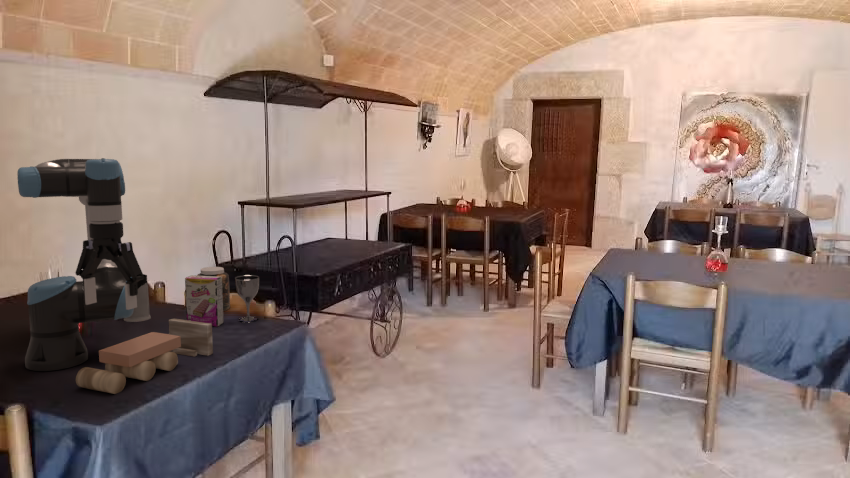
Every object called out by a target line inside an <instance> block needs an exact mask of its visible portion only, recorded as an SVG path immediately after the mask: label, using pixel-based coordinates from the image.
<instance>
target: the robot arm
mask: <svg viewBox="0 0 850 478" xmlns="http://www.w3.org/2000/svg"><path fill="white" fill-rule="evenodd" d="M123 172H124V171H123V169H122V166H121V164H120V162H119V161H118V160H117V159H113V158H112V159H111V158H103V157H102V158H60V159H58V158H57V159H53V160H48V161H44V162H41V163H38V164H37V165H36V166H26V167H25V166H22V167H19V168H18V170H17V174H16V175H17V188H18V193H19V195H20V197H23V198H35V199H38V198H53V197H55V198H57V197H67V198H68V197H69V198H73V197H75V198H77V197H78V201H79V202H80V203H81V204H82V205H83V206H84V207H85V208H84V210H85V221H86V222H85V223H86V234H87V239H86V240H83V241H82V250H81V254H80V257H79V260H78V264H77V266H76V270H75V275H76V276H79V277H80V278H81V279H82V280H79V281H78V280H77V279H76V277H75V276H73V275H67V276H63V275H62V276H56V277H51V278H48V279H43V280H40V281H37V282H35V283H33V284H32V285H30V286H29V287H28V289H27V302H26V304H27V305H28V317H29V318H28V320H29V333H30V334H29V335H30V340H29V344H28V347H27V350H26V353H25V357H24V364H25V365H24V366H25V368H26V369H27V370H30V371H35V372H51V371H58V370H60V371H61V370H64V369H69V368H73V367H76V366H80V365H81V364H83V363H85V362H86V361H87V360H88V359H89V351H88V348H87V346H86V343H85V341H84V339H83V338H82V335H81V332H80V324H83V323H93V322H103V321H112V320H113V321H117V320H119V319H121V320H122V319H124V318H127V317H130V316H131V315H132V314H133V311H134V308H136V307H137V296H136V295H137V294H138V286H137V283H138V281H140V280H143V279H144V275H143V274H144V273H143V271H142V269H141V266H140V264H139V262H138V260H137V257H136V255H135V252H134V250H133V248H134V247H133V243H132V242H131V241H129V242H122V238H123V237H124V224H123V222H122V220H123V208H122V207H123V206H122V204H123V203H122V196H125V195H126V183H125V179H124V173H123ZM137 275H138V276H137Z"/></svg>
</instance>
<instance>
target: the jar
mask: <svg viewBox="0 0 850 478" xmlns="http://www.w3.org/2000/svg"><path fill="white" fill-rule="evenodd" d="M196 275H197V276H218V277H222V291H223V312H224V311H227V310H229V309H231V302H230V301H231V299H230V297H231V296H230V295H231V294H230V291H231V290H230V277H229V276H230V275H229V274H228V273H227V272H225V269H224V267H222V266H206V267H201V268H200V273H197V274H196Z"/></svg>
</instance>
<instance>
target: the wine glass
mask: <svg viewBox="0 0 850 478" xmlns="http://www.w3.org/2000/svg"><path fill="white" fill-rule="evenodd" d="M234 279H235V290H236V293H237V295H238V296H239V297H240V299H242V300H243V301H244V303H245V306H246V307H245V308H246V316H244V318H243V317H241V318H242V319H241V320H244V321H251V320H253V319H254V317H255V316H251V315H250V308H251V307H250V306H251V302H252V301H253V299H254V298H255V297H256V296H257V294H258V292H259V289H260V288H259V287H260V276H258V275H254V274H251V275H250V274H245V275H237V276H235V277H234Z"/></svg>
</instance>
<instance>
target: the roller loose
mask: <svg viewBox="0 0 850 478" xmlns="http://www.w3.org/2000/svg"><path fill="white" fill-rule="evenodd" d="M126 379H127V377H125V376H124V375H123V374H122V373H116V372H111V371H106V369H99V368H93V367H88V366H85V367H82V368H80V369H79V370H78V372H77V373H76V376H75V383H76V385H77V387H79V388H84V389H88V390H93V391H99V392H103V393H109V394H114V395H116V394H119V393H121V392H122V391H123V390H124V388H125V386H126V382H127V380H126Z"/></svg>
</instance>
